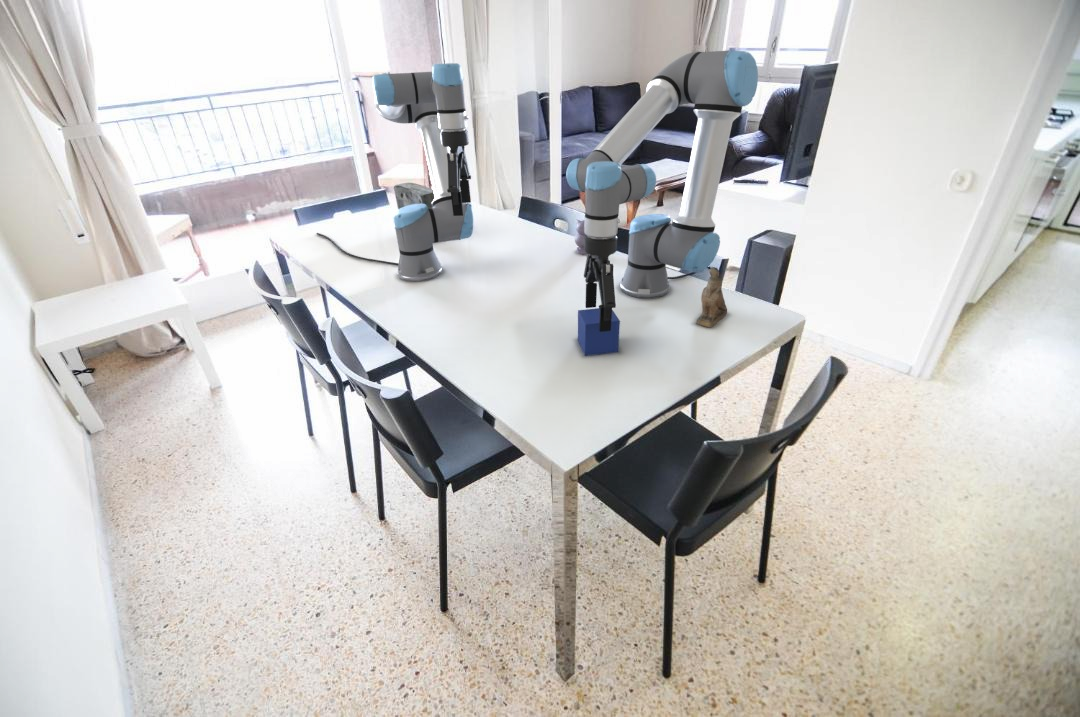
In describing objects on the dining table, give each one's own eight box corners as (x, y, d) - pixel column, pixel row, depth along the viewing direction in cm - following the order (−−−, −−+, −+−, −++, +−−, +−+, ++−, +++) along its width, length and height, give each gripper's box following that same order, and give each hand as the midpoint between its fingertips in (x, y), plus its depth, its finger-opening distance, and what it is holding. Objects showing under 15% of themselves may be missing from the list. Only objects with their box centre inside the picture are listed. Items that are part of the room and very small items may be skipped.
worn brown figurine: (709, 335, 136) (713, 280, 124) (691, 329, 139) (693, 274, 128) (730, 313, 142) (736, 258, 130) (712, 307, 145) (716, 253, 133)
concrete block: (446, 240, 206) (439, 191, 196) (426, 245, 202) (419, 195, 192) (419, 226, 225) (412, 180, 215) (401, 230, 221) (392, 184, 210)
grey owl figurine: (600, 251, 189) (601, 219, 183) (587, 257, 184) (588, 225, 178) (583, 246, 194) (583, 216, 188) (570, 252, 190) (570, 220, 183)
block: (584, 355, 125) (585, 324, 120) (577, 340, 132) (577, 310, 127) (618, 352, 126) (620, 320, 121) (609, 336, 133) (610, 306, 128)
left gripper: (459, 136, 123) (468, 221, 135) (474, 123, 144) (481, 197, 156) (429, 137, 124) (441, 221, 135) (448, 123, 145) (457, 197, 156)
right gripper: (634, 251, 103) (627, 340, 114) (602, 219, 124) (599, 297, 135) (599, 253, 102) (595, 343, 113) (572, 221, 123) (572, 299, 134)
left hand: (462, 208), depth 145 cm, fingers open, 13 cm apart
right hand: (597, 318), depth 124 cm, fingers open, 13 cm apart
